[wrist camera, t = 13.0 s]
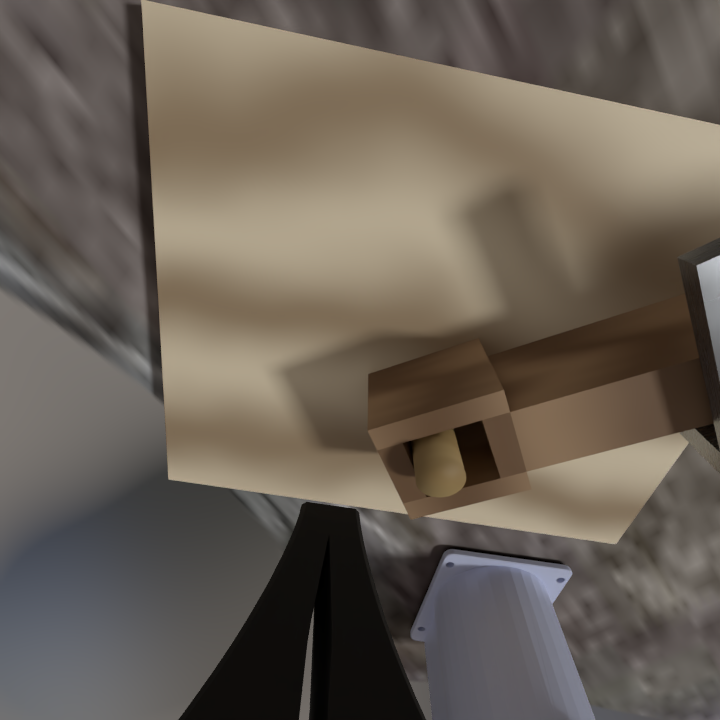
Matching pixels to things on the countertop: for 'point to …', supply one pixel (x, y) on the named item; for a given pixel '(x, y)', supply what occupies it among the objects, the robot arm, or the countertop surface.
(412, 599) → the countertop surface
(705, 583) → the countertop surface
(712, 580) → the countertop surface
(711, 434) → the block
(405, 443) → the link
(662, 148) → the board
